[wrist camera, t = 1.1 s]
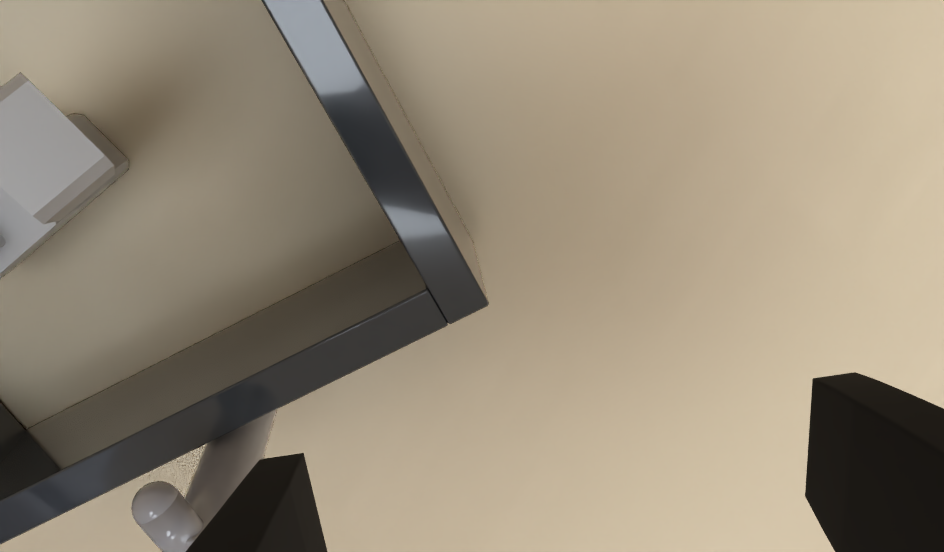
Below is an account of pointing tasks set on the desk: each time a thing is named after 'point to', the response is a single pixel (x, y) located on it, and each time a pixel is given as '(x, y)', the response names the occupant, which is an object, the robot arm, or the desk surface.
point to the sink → (263, 326)
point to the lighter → (46, 169)
